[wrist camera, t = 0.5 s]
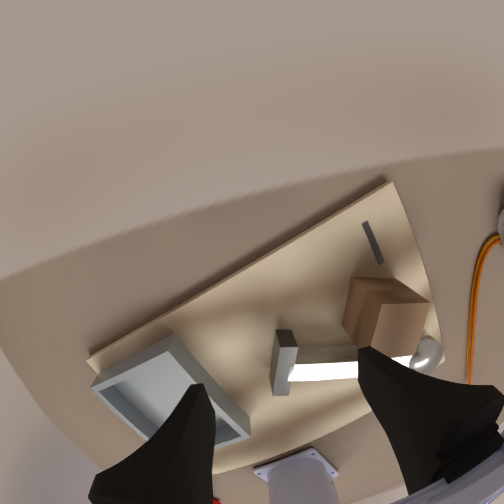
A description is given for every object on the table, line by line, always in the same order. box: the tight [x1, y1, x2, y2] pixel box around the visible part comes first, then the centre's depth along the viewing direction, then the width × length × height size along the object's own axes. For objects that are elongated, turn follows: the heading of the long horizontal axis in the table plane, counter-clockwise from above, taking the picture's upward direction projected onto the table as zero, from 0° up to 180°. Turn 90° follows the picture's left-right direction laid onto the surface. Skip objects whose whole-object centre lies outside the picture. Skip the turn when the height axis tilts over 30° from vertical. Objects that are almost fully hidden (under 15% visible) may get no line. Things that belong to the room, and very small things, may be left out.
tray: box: [90, 333, 251, 450], centre depth 21 cm, size 11×9×2 cm
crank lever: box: [269, 329, 443, 396], centre depth 20 cm, size 15×4×3 cm, turn 86°
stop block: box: [341, 277, 431, 358], centre depth 18 cm, size 4×4×5 cm
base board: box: [86, 182, 445, 474], centre depth 22 cm, size 20×29×1 cm
